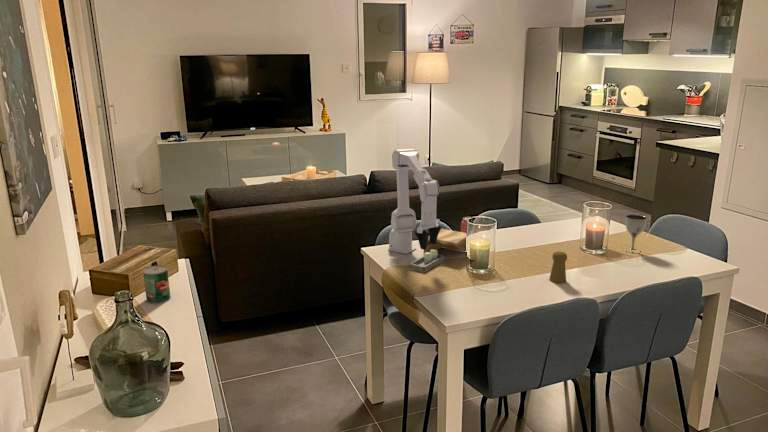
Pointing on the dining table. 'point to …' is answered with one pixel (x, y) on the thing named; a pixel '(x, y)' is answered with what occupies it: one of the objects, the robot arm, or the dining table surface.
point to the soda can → (464, 224)
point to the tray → (425, 266)
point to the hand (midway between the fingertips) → (428, 246)
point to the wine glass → (635, 226)
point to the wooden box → (448, 241)
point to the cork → (558, 268)
